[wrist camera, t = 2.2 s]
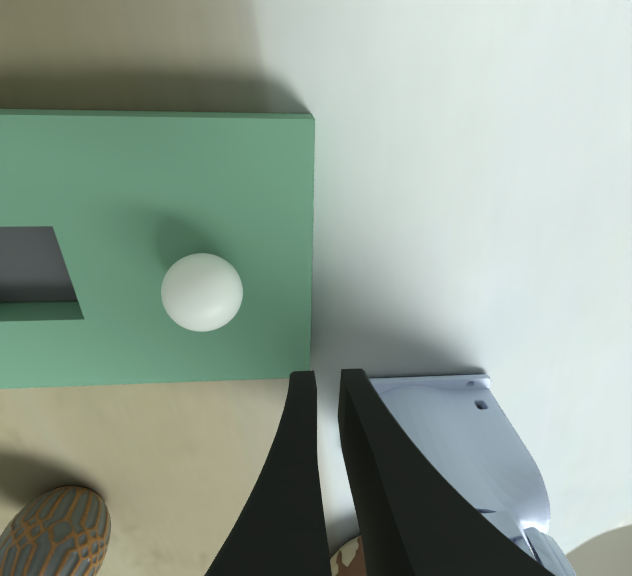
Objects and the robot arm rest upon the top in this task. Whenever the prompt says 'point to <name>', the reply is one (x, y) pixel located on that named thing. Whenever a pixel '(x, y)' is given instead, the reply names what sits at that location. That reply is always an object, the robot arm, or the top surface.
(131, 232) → the board
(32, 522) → the vase
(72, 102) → the top surface
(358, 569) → the donut
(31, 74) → the top surface
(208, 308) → the ball
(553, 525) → the top surface
